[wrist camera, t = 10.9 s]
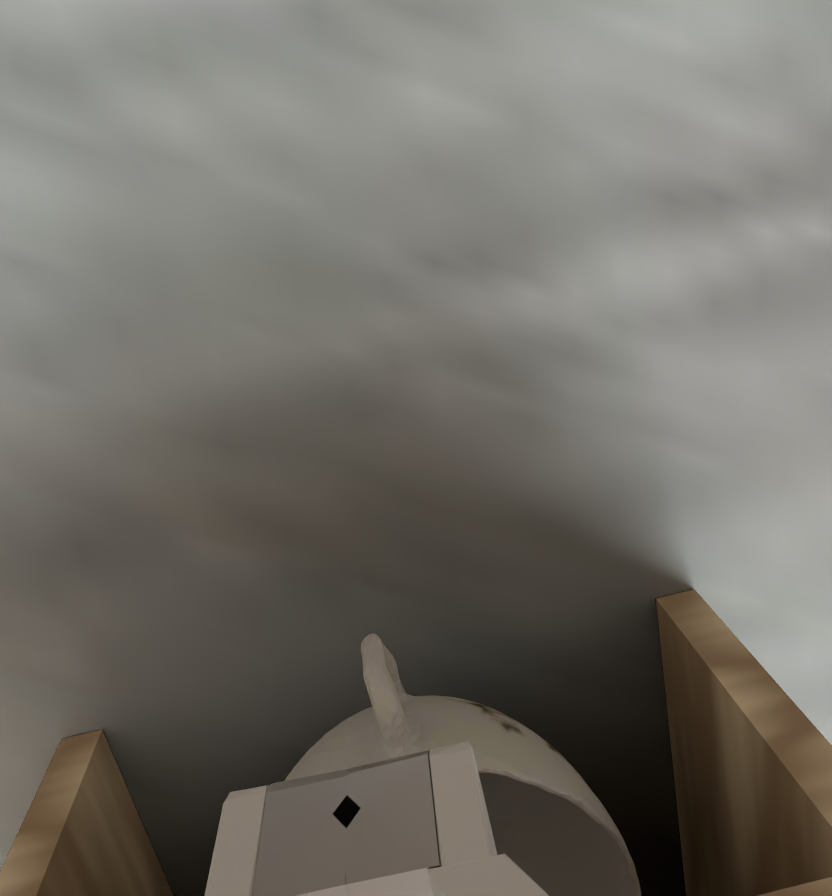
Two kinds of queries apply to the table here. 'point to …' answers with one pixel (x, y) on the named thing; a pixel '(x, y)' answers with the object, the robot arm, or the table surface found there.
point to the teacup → (489, 779)
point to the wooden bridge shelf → (694, 763)
